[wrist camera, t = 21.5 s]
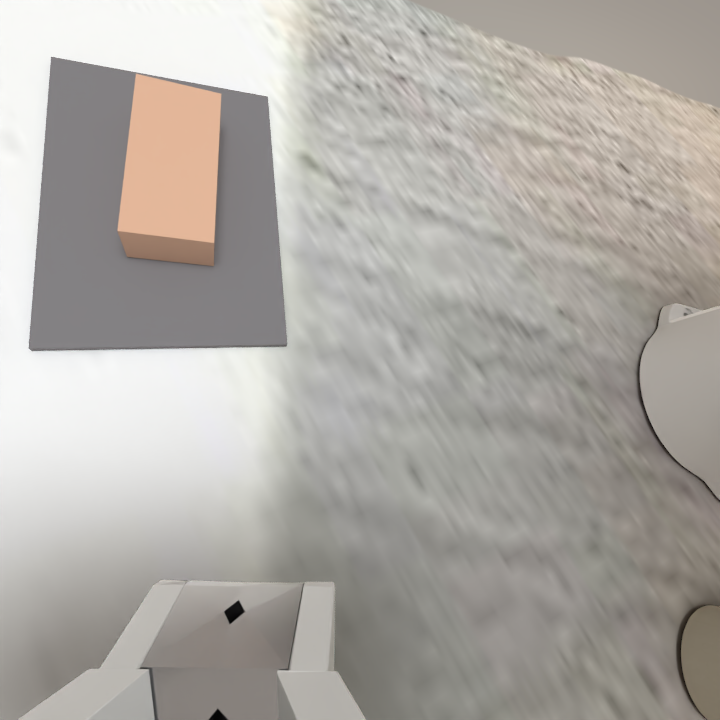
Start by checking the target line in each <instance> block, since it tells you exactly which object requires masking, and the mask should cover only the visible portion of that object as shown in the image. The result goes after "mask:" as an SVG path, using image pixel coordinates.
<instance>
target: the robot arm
mask: <svg viewBox="0 0 720 720" xmlns="http://www.w3.org/2000/svg"><path fill="white" fill-rule="evenodd" d="M640 387H641V393H642V398H643V402H644V406H645V409H646V412H647V415H648V417H649V420H650V422H651V424H652V426H653V428H654V430H655V432H656V434H657V436H658V437H659V439H660V441H661V442H662V444H663V445H664V446H665V448H666V449H667V450H668V451H669V453H670V454H671V455H672V456H673V457H674V458H675V459H676V460H677V461H678V462H679V463H680V464H681V465H682V466H683V467H685V468H686V469H687V470H689V471H691V472H692V473H694V474H695V475H697V476H698V477H700V478H701V479H702V480H703V481H704V482H705V483H706V484H707V485H708V487H709V488H710V489H711V490H712V492H713V493H714V494H715V495H716V497H717V498H718V499H719V500H720V305H719V306H716V307H713V308H709V309H706V310H700V309H697V308H693V307H689V306H686V305H682V304H679V303H674V304H670V305H667V306H664V307H663V308H662V310H661V312H660V317H659V323H658V328H657V330H656V332H655V333H654V334H653V336H652V337H651V338H650V339H649V341H648V342H647V344H646V346H645V348H644V351H643V354H642V358H641V363H640ZM334 660H335V583H334V582H227V581H200V580H190V581H183V580H160V581H158V582H157V583H156V584H154V585H153V586H152V588H151V589H150V591H149V592H148V594H147V595H146V597H145V599H144V600H143V602H142V603H141V605H140V606H139V608H138V609H137V611H136V612H135V614H134V616H133V617H132V619H131V620H130V622H129V623H128V625H127V626H126V628H125V630H124V631H123V633H122V634H121V636H120V637H119V639H118V640H117V642H116V644H115V645H114V647H113V648H112V650H111V651H110V653H109V654H108V656H107V657H106V659H105V661H104V662H103V664H102V665H101V667H100V668H99V669H88V670H86V671H85V672H84V673H82V674H81V675H79V676H78V677H77V678H75V679H74V680H72V681H71V682H70V683H68V684H67V685H65V686H64V687H63V688H61V689H60V690H58V691H57V692H56V693H54V694H53V695H51V696H50V697H48V698H47V699H46V700H44V701H43V702H41V703H40V704H39V705H37V706H36V707H34V708H33V709H32V710H30V711H29V712H27V713H26V714H25V715H23V716H22V717H20V718H19V719H18V720H366V718H365V717H364V715H363V713H362V712H361V710H360V708H359V706H358V705H357V703H356V701H355V700H354V698H353V696H352V695H351V693H350V691H349V689H348V688H347V686H346V684H345V683H344V681H343V679H342V678H341V676H340V674H339V672H338V671H334Z"/></svg>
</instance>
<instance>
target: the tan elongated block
mask: <svg viewBox="0 0 720 720" xmlns="http://www.w3.org/2000/svg"><path fill="white" fill-rule="evenodd" d="M220 126H221V94H220V93H216V92H212V91H208V90H203V89H199V88H195V87H191V86H186V85H182V84H178V83H174V82H169V81H165V80H161V79H157V78H152V77H148V76H144V75H139V74H136V78H135V86H134V94H133V103H132V111H131V120H130V128H129V137H128V145H127V154H126V162H125V171H124V179H123V187H122V196H121V204H120V213H119V221H118V230H117V231H118V234H119V237H120V239H121V242H122V245H123V247H124V250H125V253H126V255H127V257H133V258H142V259H151V260H161V261H170V262H179V263H189V264H198V265H207V266H214V253H215V232H216V211H217V190H218V169H219V148H220Z"/></svg>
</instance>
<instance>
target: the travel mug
mask: <svg viewBox="0 0 720 720" xmlns="http://www.w3.org/2000/svg"><path fill="white" fill-rule="evenodd" d="M681 662H682V670H683V675H684V679H685V683H686V686H687V689H688V691H689V694H690V696H691V698H692V700H693V702H694V704H695V705H696V707H697V708H698V710H699V711H700V712H701V714H702V715H703V716H704V717H705V718H706V719H707V720H720V607H719V606H714V605H707V606H703V607H701V608H699V609H698V610H696V611H695V612H694V613H693V614H692V615H691V617H690V618H689V620H688V622H687V624H686V627H685V629H684V633H683V637H682V644H681Z"/></svg>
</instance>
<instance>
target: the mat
mask: <svg viewBox="0 0 720 720" xmlns="http://www.w3.org/2000/svg"><path fill="white" fill-rule="evenodd" d="M136 74H139V75H144V76H148V77H152V78H157V79H161V80H165V81H169V82H174V83H178V84H182V85H186V86H191V87H195V88H199V89H203V90H208V91H212V92H216V93H220V94H221V126H220V148H219V169H218V190H217V211H216V232H215V253H214V266H207V265H198V264H189V263H179V262H170V261H161V260H151V259H142V258H133V257H127V255H126V253H125V250H124V247H123V245H122V242H121V239H120V237H119V234H118V231H117V230H118V221H119V213H120V204H121V196H122V187H123V179H124V171H125V162H126V154H127V145H128V137H129V128H130V120H131V111H132V103H133V94H134V86H135V78H136ZM267 346H287V335H286V323H285V310H284V297H283V285H282V272H281V259H280V246H279V234H278V221H277V208H276V196H275V183H274V170H273V158H272V145H271V132H270V120H269V107H268V97H266V96H261V95H255V94H250V93H244V92H239V91H234V90H228V89H223V88H217V87H212V86H206V85H201V84H196V83H190V82H185V81H179V80H174V79H168V78H163V77H158V76H152V75H147V74H141V73H136V72H131V71H125V70H120V69H114V68H109V67H103V66H98V65H93V64H87V63H82V62H76V61H71V60H65V59H60V58H55V57H51V66H50V79H49V92H48V105H47V118H46V131H45V144H44V157H43V170H42V183H41V196H40V209H39V222H38V235H37V248H36V261H35V274H34V287H33V300H32V313H31V326H30V339H29V349H30V350H32V351H35V350H93V349H151V348H209V347H267Z"/></svg>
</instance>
